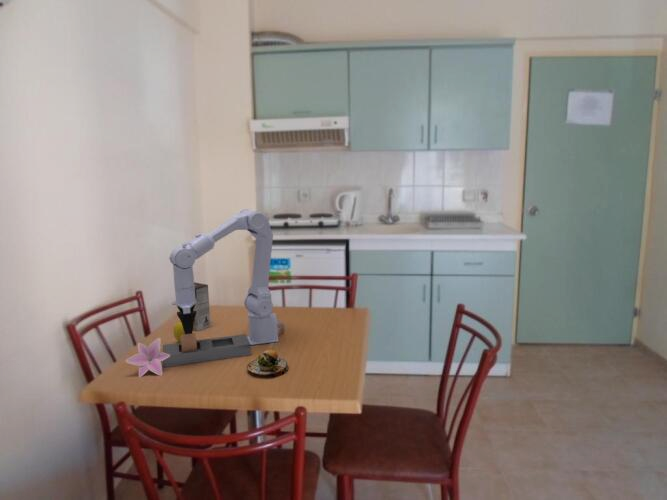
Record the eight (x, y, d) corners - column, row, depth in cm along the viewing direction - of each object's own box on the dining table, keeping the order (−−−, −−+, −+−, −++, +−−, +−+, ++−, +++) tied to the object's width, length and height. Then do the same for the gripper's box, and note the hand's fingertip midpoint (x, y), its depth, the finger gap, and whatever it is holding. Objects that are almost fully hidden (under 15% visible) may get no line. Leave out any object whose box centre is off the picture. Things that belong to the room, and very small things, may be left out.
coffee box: (181, 327, 182) (177, 285, 179) (194, 322, 187) (191, 281, 184) (198, 331, 177) (195, 288, 174) (211, 326, 182) (208, 284, 179)
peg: (197, 354, 156) (195, 333, 154) (197, 359, 152) (196, 337, 150) (182, 356, 154) (180, 334, 153) (182, 361, 150) (181, 339, 149)
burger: (242, 367, 145) (241, 343, 144) (280, 359, 150) (279, 336, 149) (253, 383, 135) (251, 357, 133) (293, 374, 139) (292, 349, 138)
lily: (122, 377, 142) (120, 358, 137) (143, 351, 151) (142, 331, 145) (157, 390, 141) (156, 370, 136) (176, 362, 150) (176, 343, 144)
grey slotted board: (246, 344, 163) (245, 334, 162) (250, 355, 154) (250, 344, 153) (163, 355, 155) (162, 344, 155) (163, 367, 146) (162, 356, 145)
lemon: (186, 346, 162) (184, 323, 161) (171, 345, 163) (169, 322, 162) (194, 340, 168) (192, 318, 166) (179, 339, 169) (177, 317, 167)
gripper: (170, 282, 155) (174, 324, 157) (170, 294, 141) (174, 339, 143) (194, 280, 157) (197, 321, 159) (196, 291, 143) (199, 335, 145)
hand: (188, 329), depth 151 cm, fingers open, 7 cm apart
